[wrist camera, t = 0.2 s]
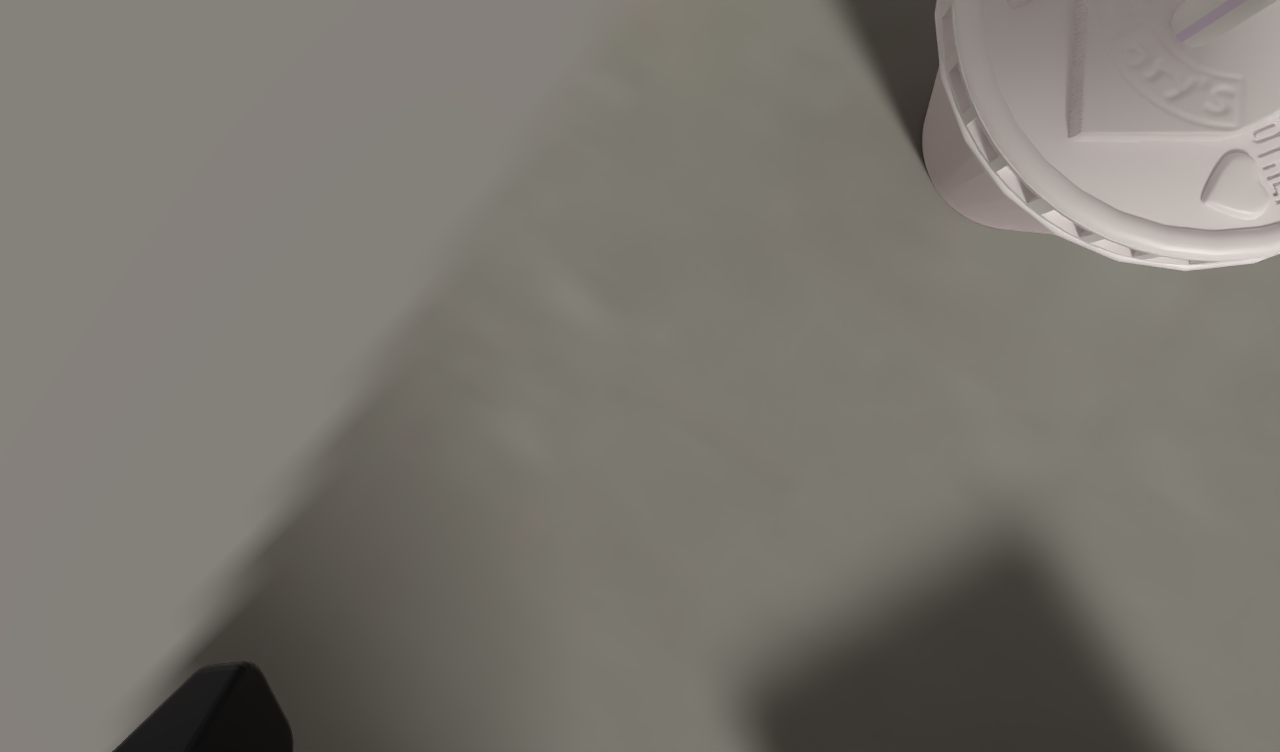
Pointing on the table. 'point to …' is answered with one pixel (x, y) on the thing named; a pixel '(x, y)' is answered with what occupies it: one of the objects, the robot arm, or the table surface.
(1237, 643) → the table surface
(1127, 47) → the smoothie
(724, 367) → the table surface
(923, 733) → the table surface
